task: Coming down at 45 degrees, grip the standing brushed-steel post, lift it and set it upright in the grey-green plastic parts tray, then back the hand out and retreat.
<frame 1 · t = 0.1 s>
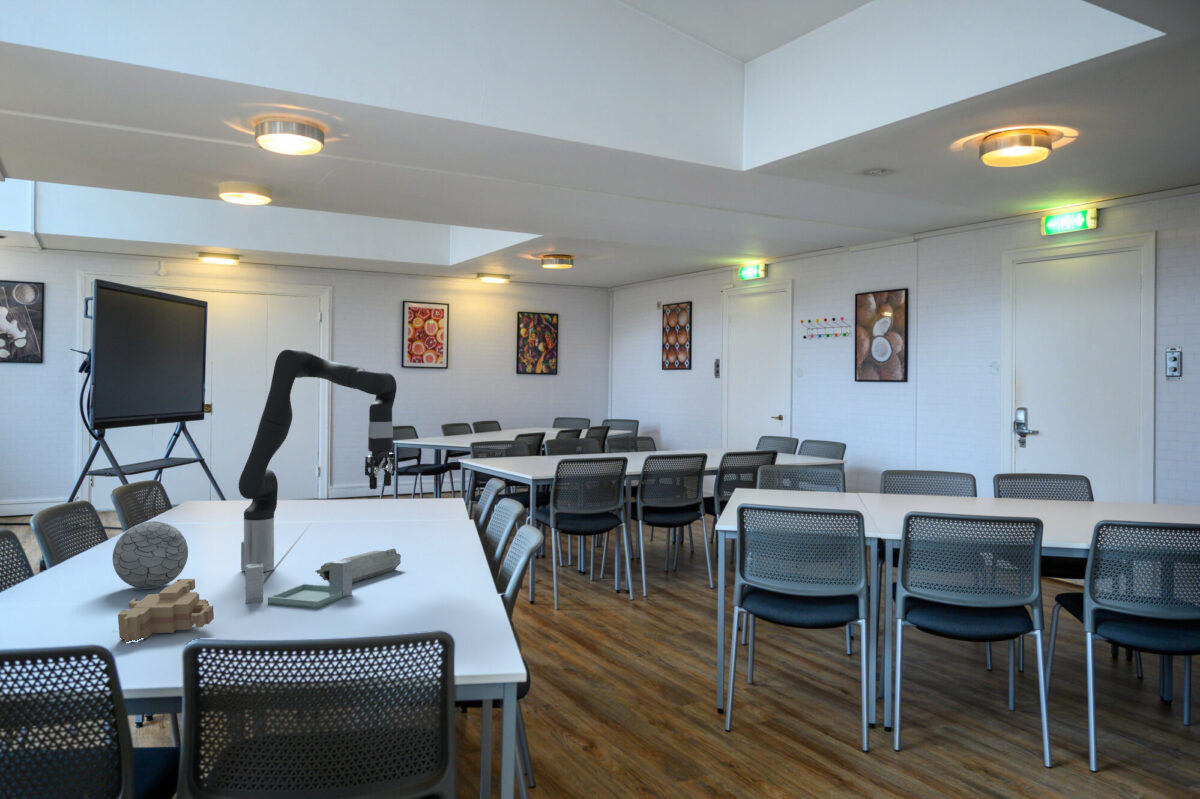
hand: (380, 487, 251), 29 cm above the table, tool pointing down, fingers open, 8 cm apart
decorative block: (360, 579, 253), on the table
decorative sphere: (151, 588, 240), on the table
post a: (254, 600, 226), on the table
toy: (171, 633, 197), on the table
tray: (310, 599, 228), on the table
post b: (340, 595, 233), resting in tray
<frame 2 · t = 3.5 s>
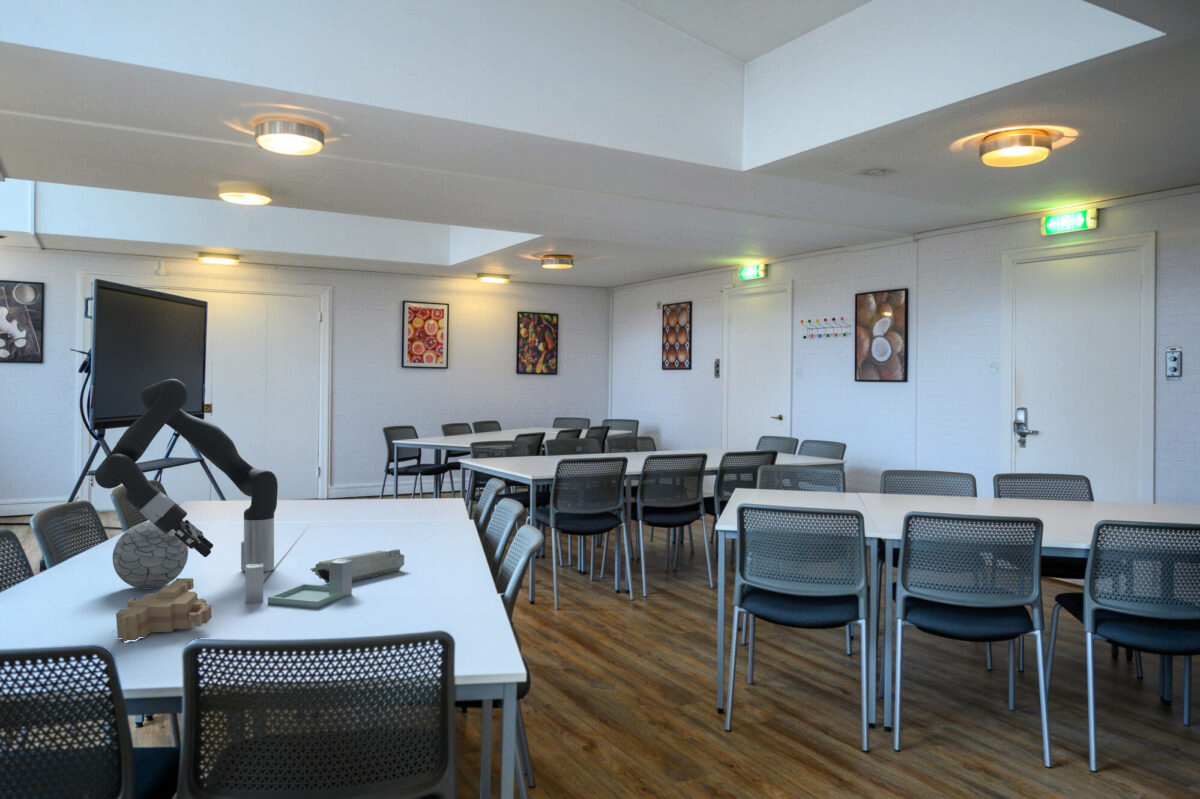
hand: (209, 551, 222), 15 cm above the table, tool tilted 45°, fingers open, 8 cm apart
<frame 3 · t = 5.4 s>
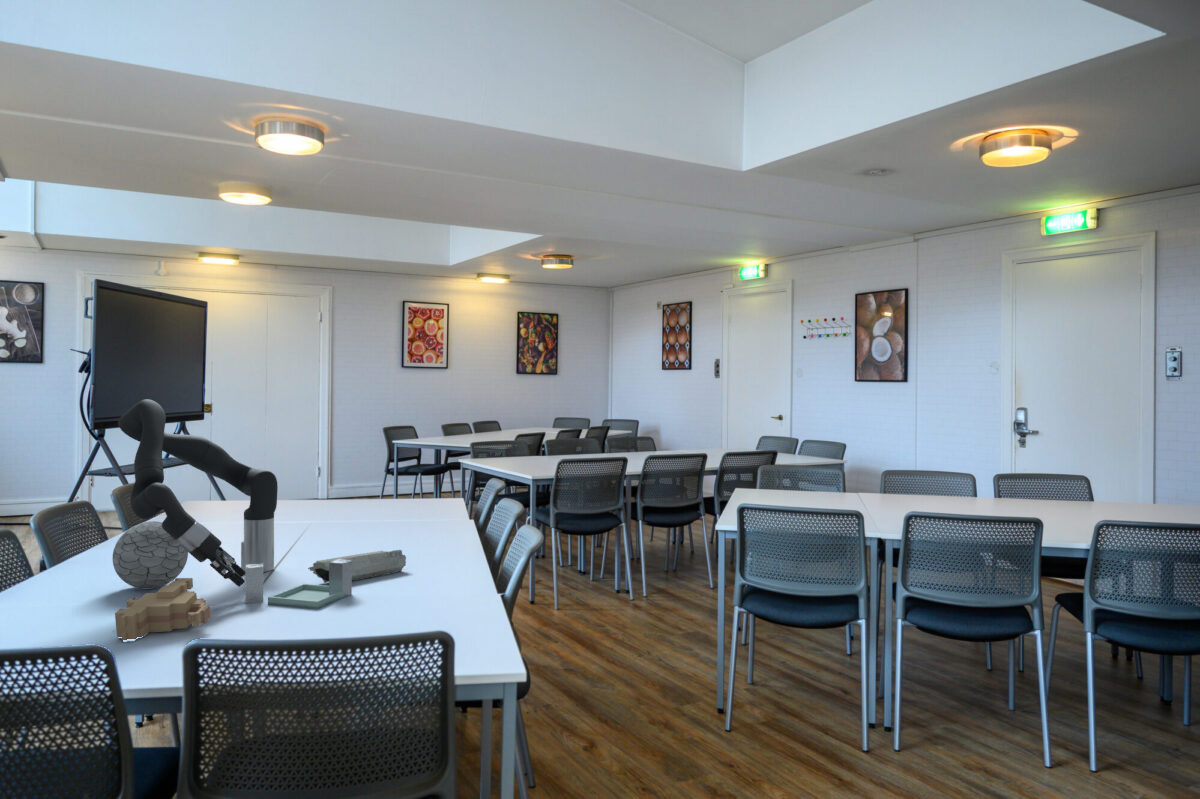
hand: (242, 579, 226), 6 cm above the table, tool tilted 45°, fingers open, 8 cm apart
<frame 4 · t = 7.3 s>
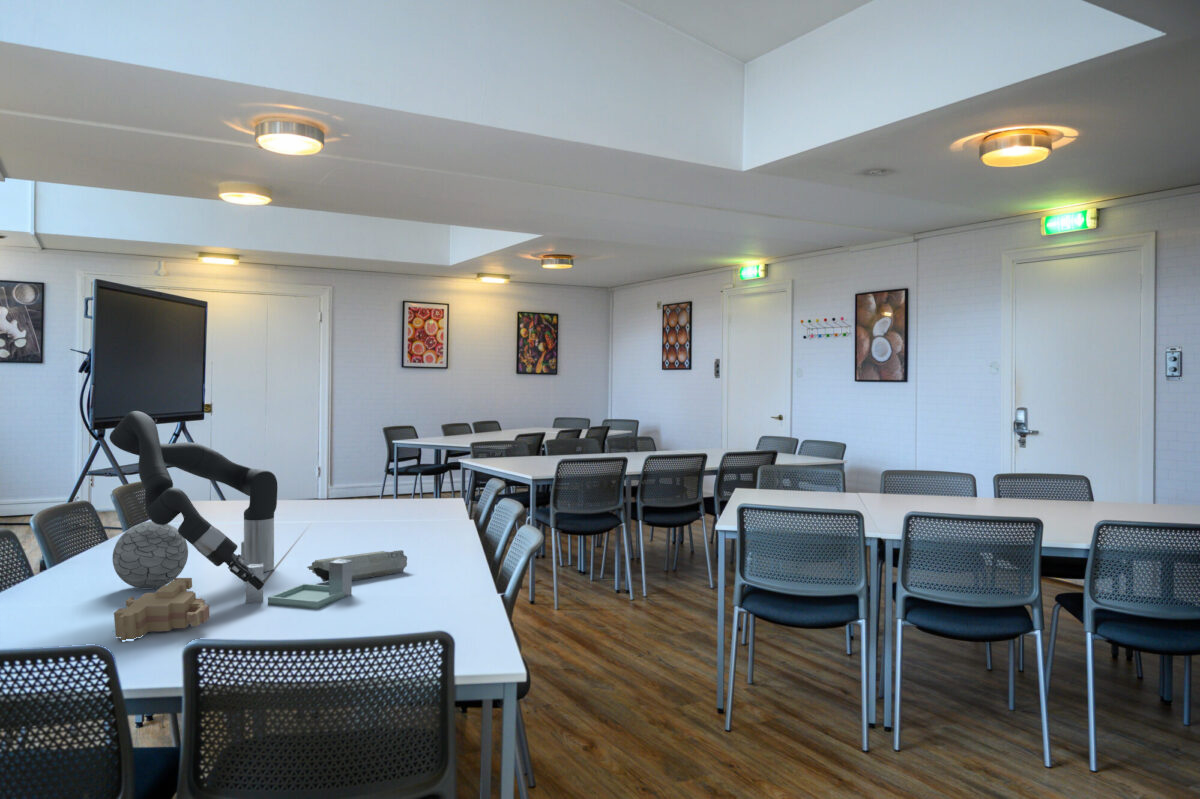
hand: (261, 585, 227), 4 cm above the table, tool tilted 45°, fingers closed on post a, 4 cm apart
post a: (254, 600, 226), on the table, touching gripper
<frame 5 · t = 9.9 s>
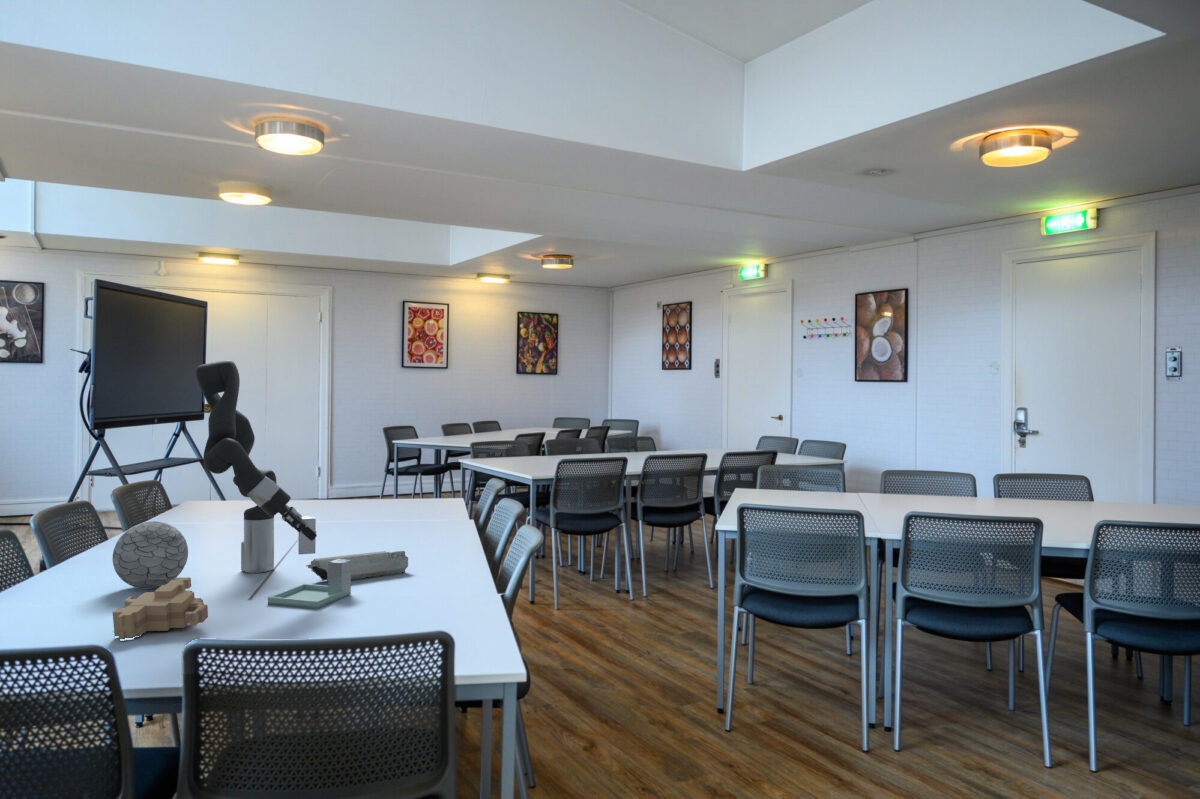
hand: (314, 536, 228), 18 cm above the table, tool tilted 45°, fingers closed on post a, 4 cm apart
post a: (306, 552, 228), point 14 cm above the table, touching gripper
post b: (339, 595, 232), resting on tray
when the fingers open (7 cm above the table, at t = 12.6 s): post a drops 1 cm, resting on tray.
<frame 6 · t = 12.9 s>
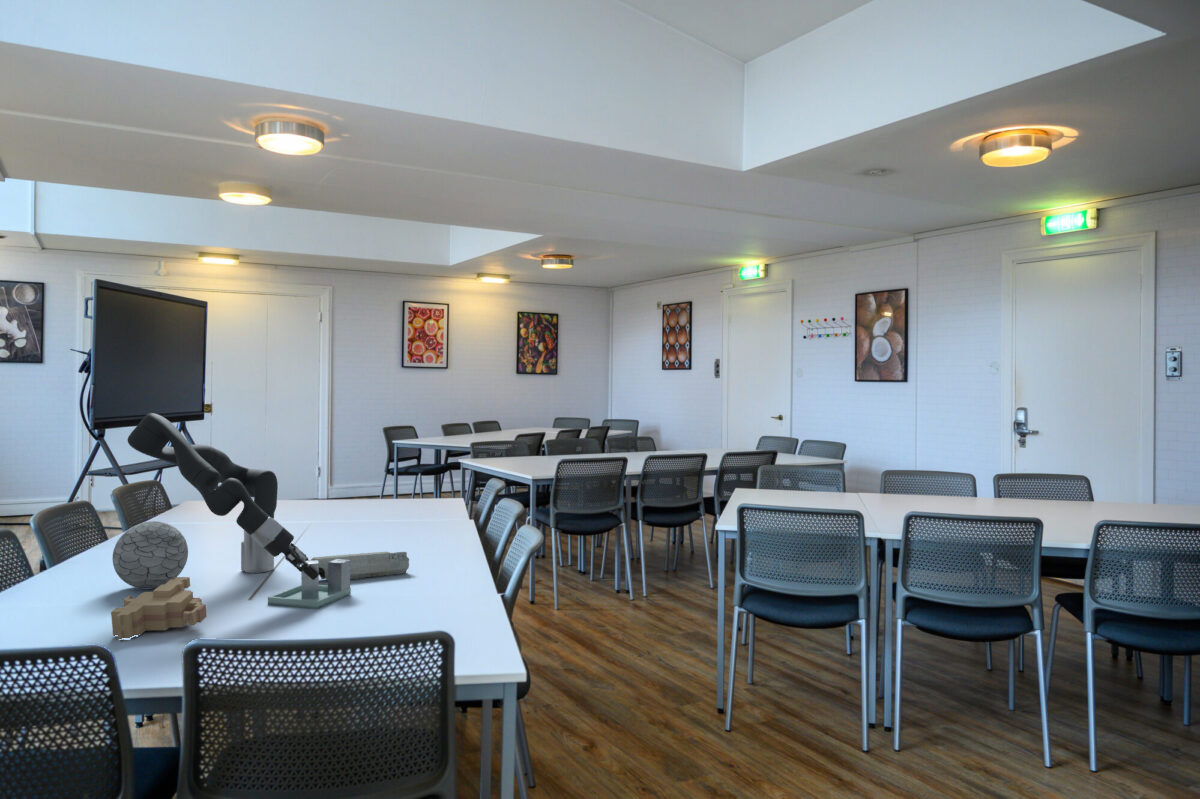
hand: (315, 574, 229), 7 cm above the table, tool tilted 45°, fingers open, 7 cm apart
post a: (309, 597, 228), point 1 cm above the table, touching tray
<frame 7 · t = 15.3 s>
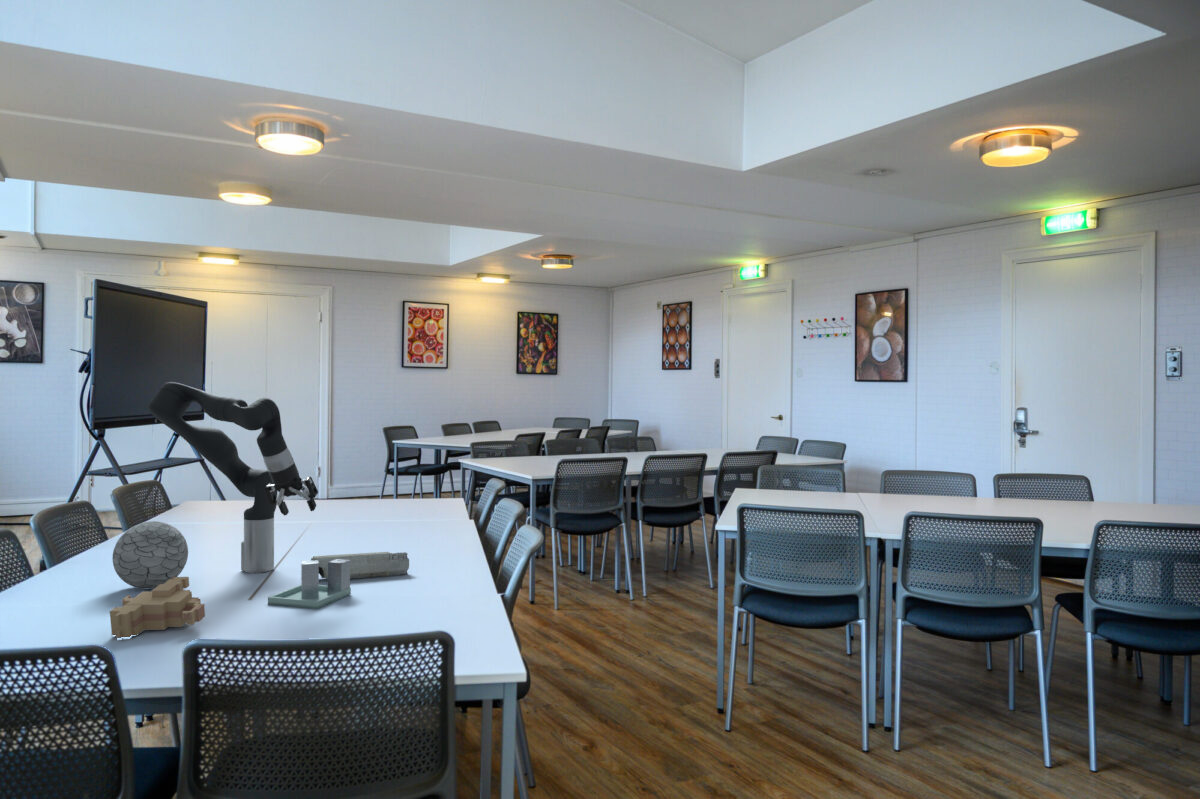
hand: (300, 511, 237), 24 cm above the table, tool tilted 25°, fingers open, 8 cm apart
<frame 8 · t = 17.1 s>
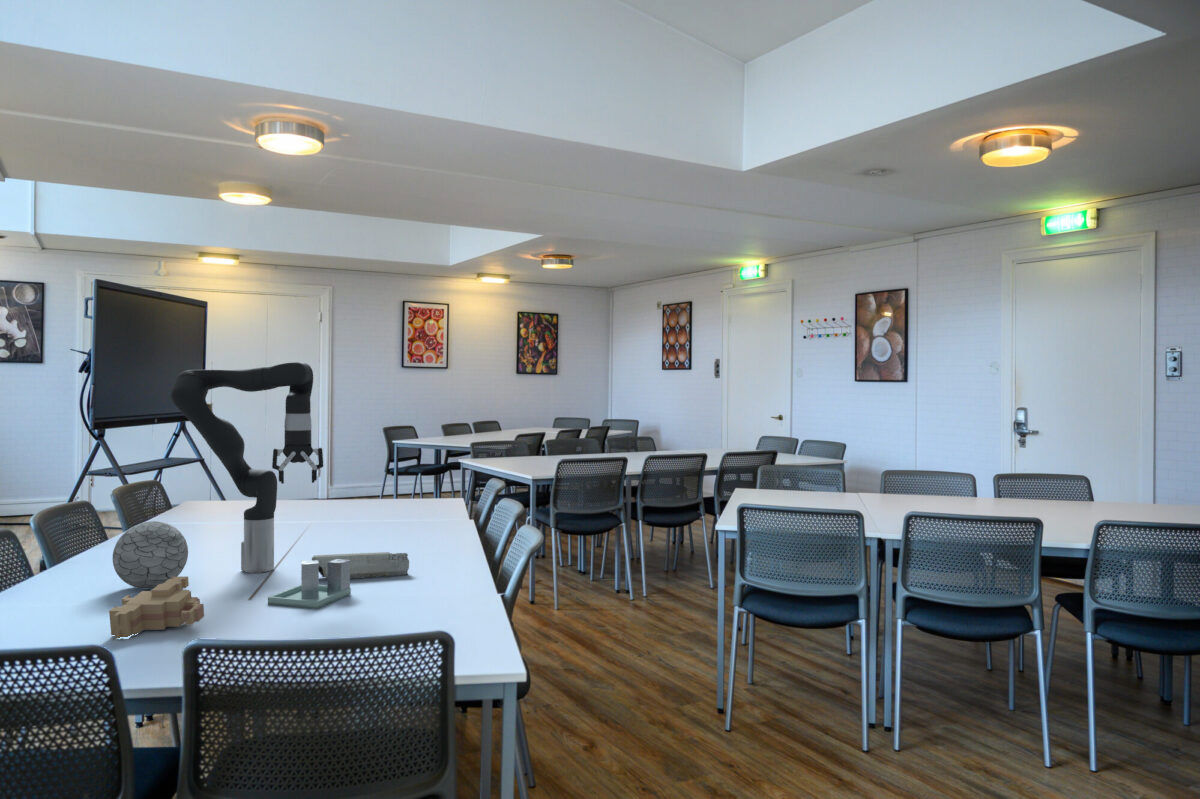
hand: (297, 482, 238), 32 cm above the table, tool pointing down, fingers open, 8 cm apart
at the end: post a inside the target area on the tray (0.1 cm from its centre), point 0.6 cm above the tray's base; post a tilted 0°; the gripper is holding nothing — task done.
